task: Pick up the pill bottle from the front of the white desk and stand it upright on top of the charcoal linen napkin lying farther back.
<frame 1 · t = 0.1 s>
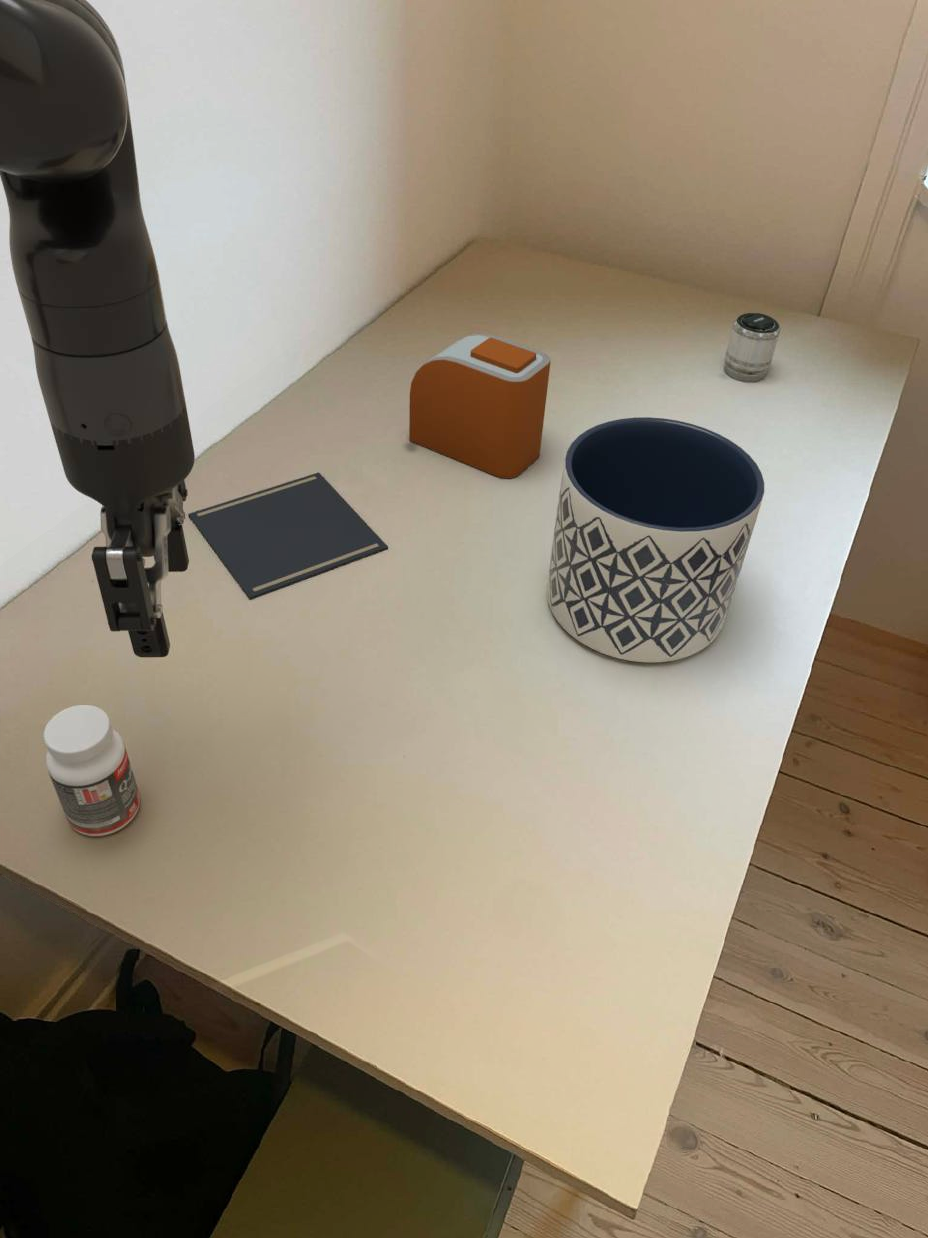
hand: (163, 609, 66), 20 cm above the table, tool pointing down, fingers open, 8 cm apart
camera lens: (744, 373, 136), on the table
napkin: (287, 532, 105), on the table
planter: (633, 605, 99), on the table
alarm clock: (477, 447, 119), on the table
pill bottle: (105, 810, 78), on the table
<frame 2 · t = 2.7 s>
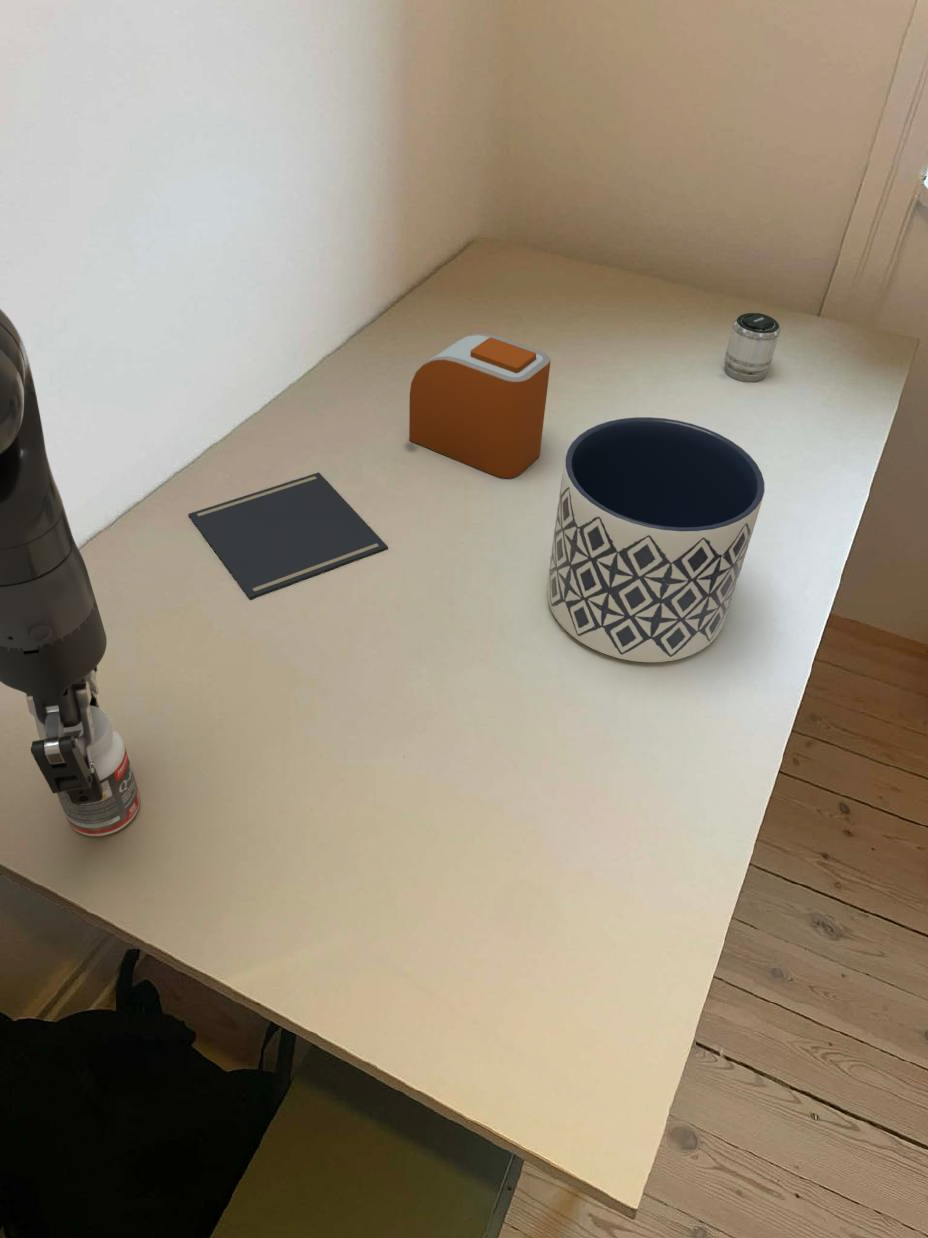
hand: (89, 765, 74), 6 cm above the table, tool pointing down, fingers closed on pill bottle, 5 cm apart
pill bottle: (105, 810, 78), on the table, touching gripper
everything else where it was.
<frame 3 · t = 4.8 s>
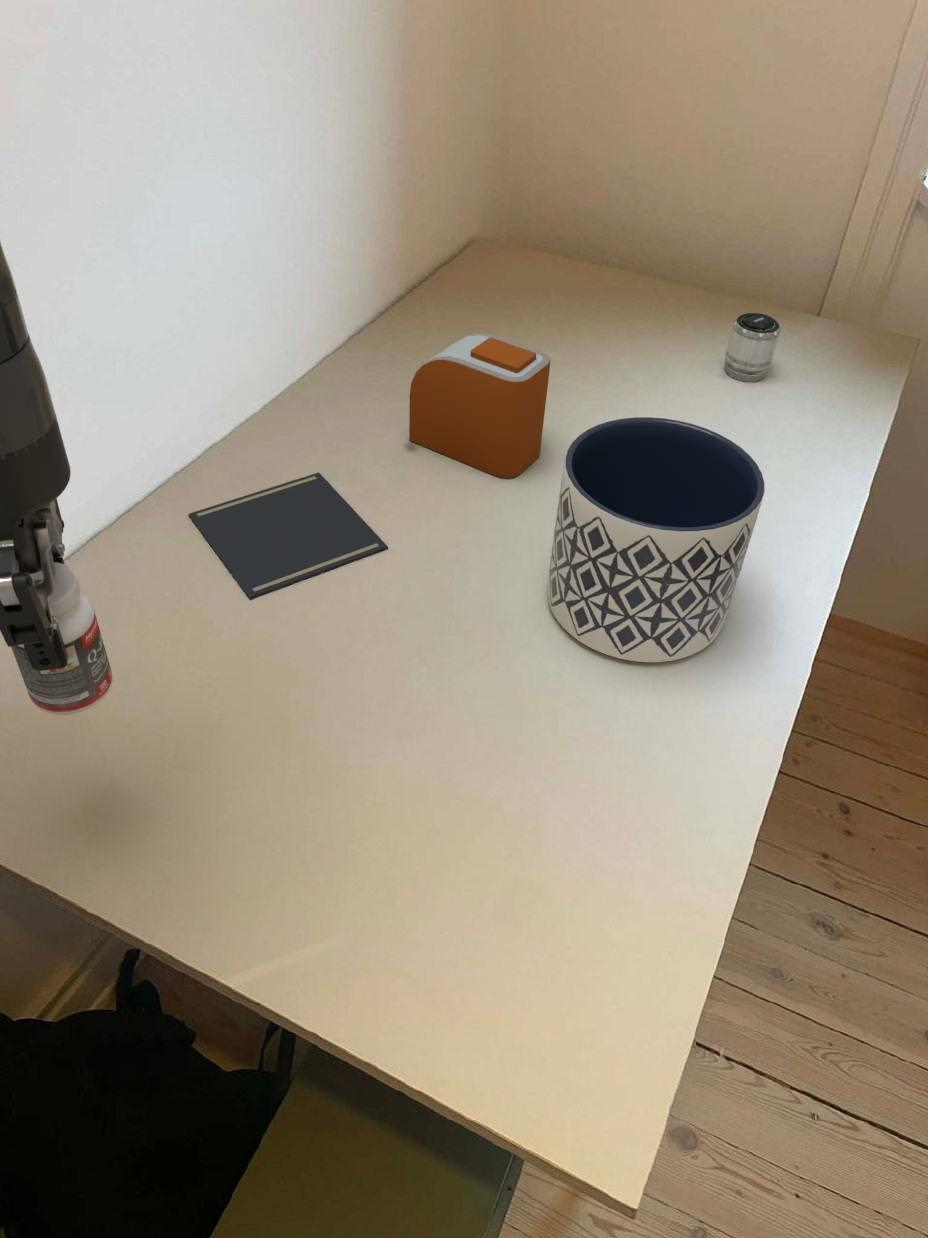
hand: (54, 632, 66), 19 cm above the table, tool pointing down, fingers closed on pill bottle, 5 cm apart
pill bottle: (73, 690, 70), point 13 cm above the table, touching gripper
everything else where it was.
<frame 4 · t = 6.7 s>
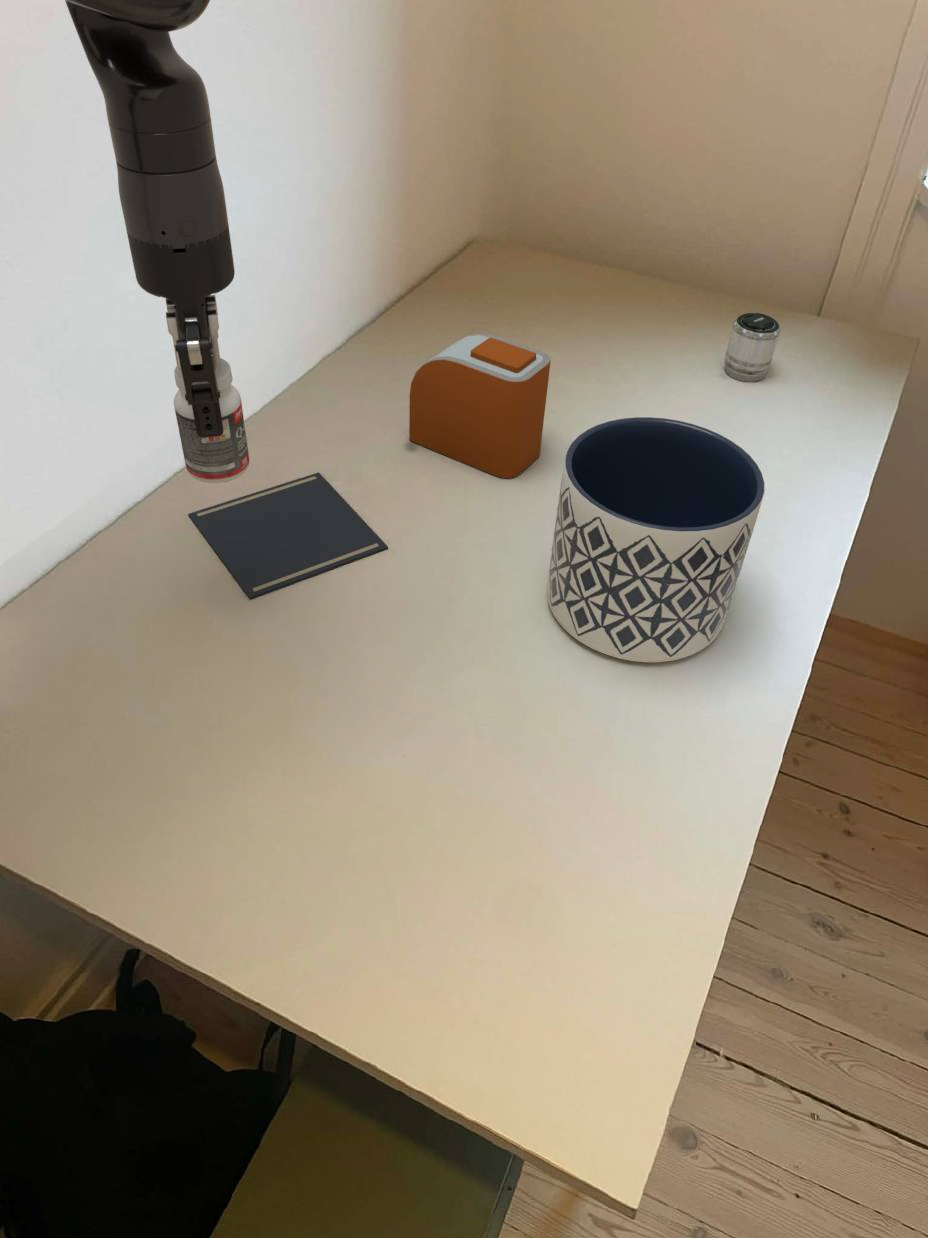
hand: (209, 414, 84), 20 cm above the table, tool pointing down, fingers closed on pill bottle, 5 cm apart
pill bottle: (218, 469, 88), point 14 cm above the table, touching gripper
everything else where it was.
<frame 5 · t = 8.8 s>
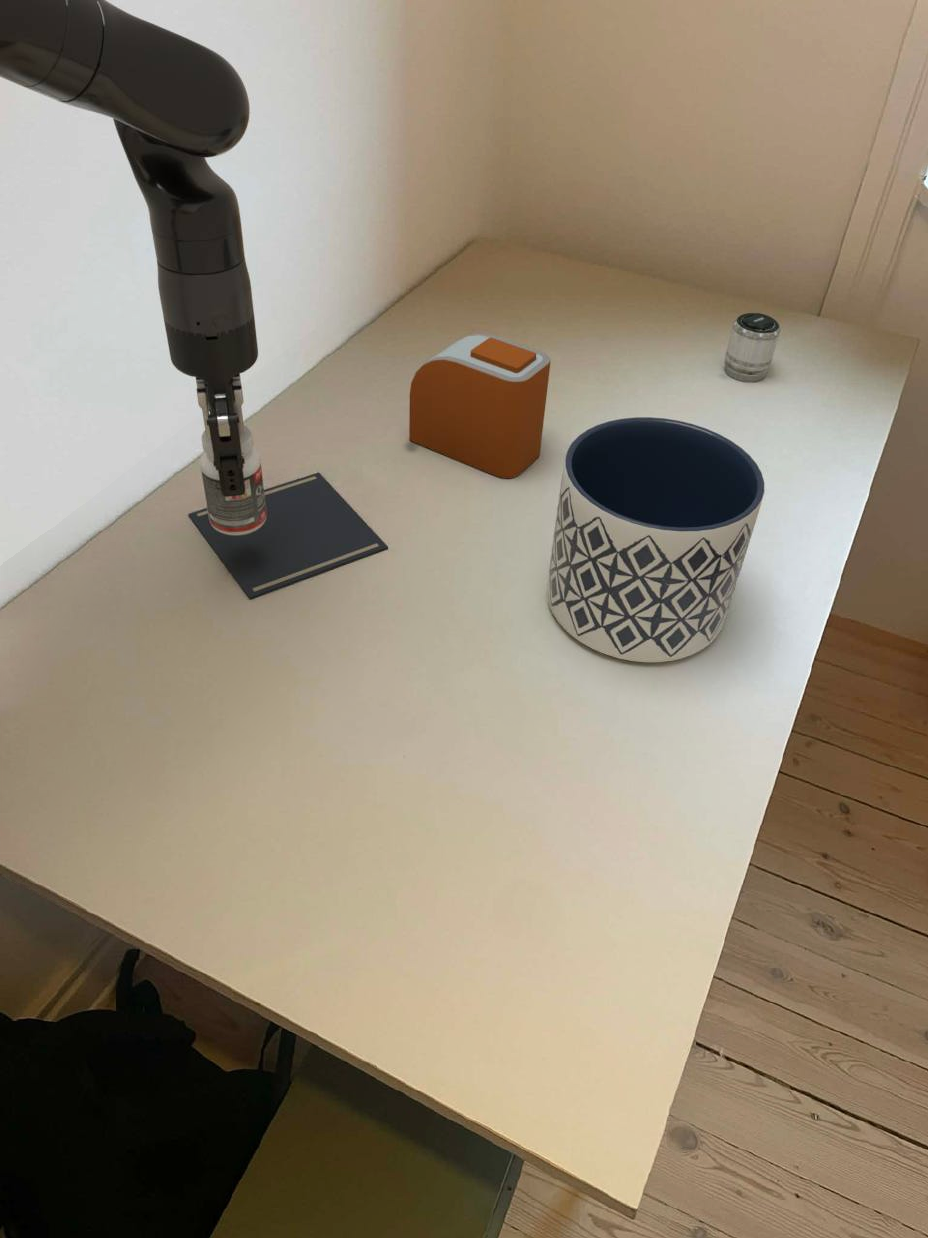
hand: (231, 474, 93), 11 cm above the table, tool pointing down, fingers closed on pill bottle, 5 cm apart
pill bottle: (238, 521, 97), point 5 cm above the table, touching gripper
everything else where it was.
when the fingers open (6 cm above the table, at t = 10.6 s): pill bottle stays where it is, resting on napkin.
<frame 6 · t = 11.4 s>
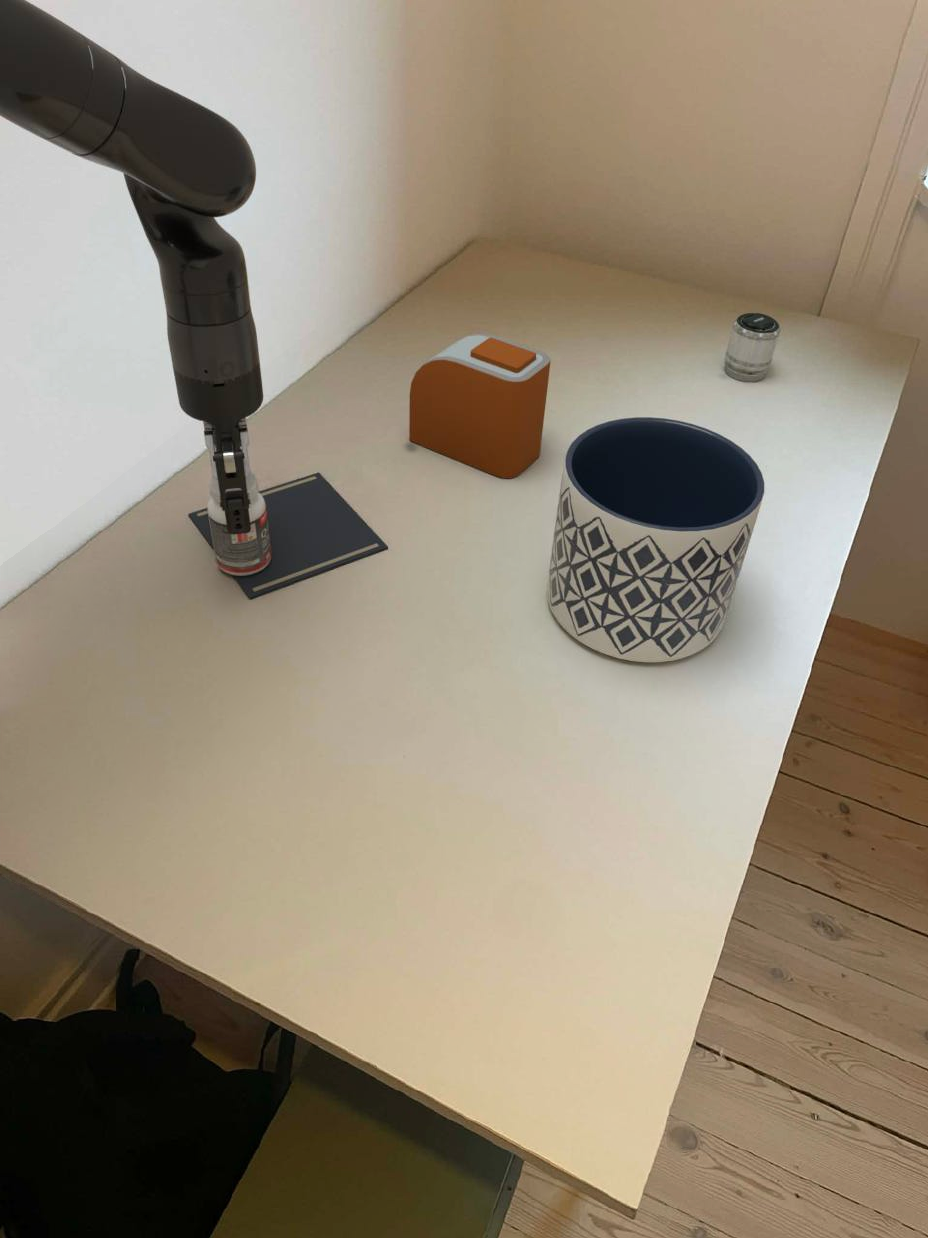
hand: (236, 505, 96), 7 cm above the table, tool pointing down, fingers open, 8 cm apart
pill bottle: (244, 561, 101), resting on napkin
everything else where it was.
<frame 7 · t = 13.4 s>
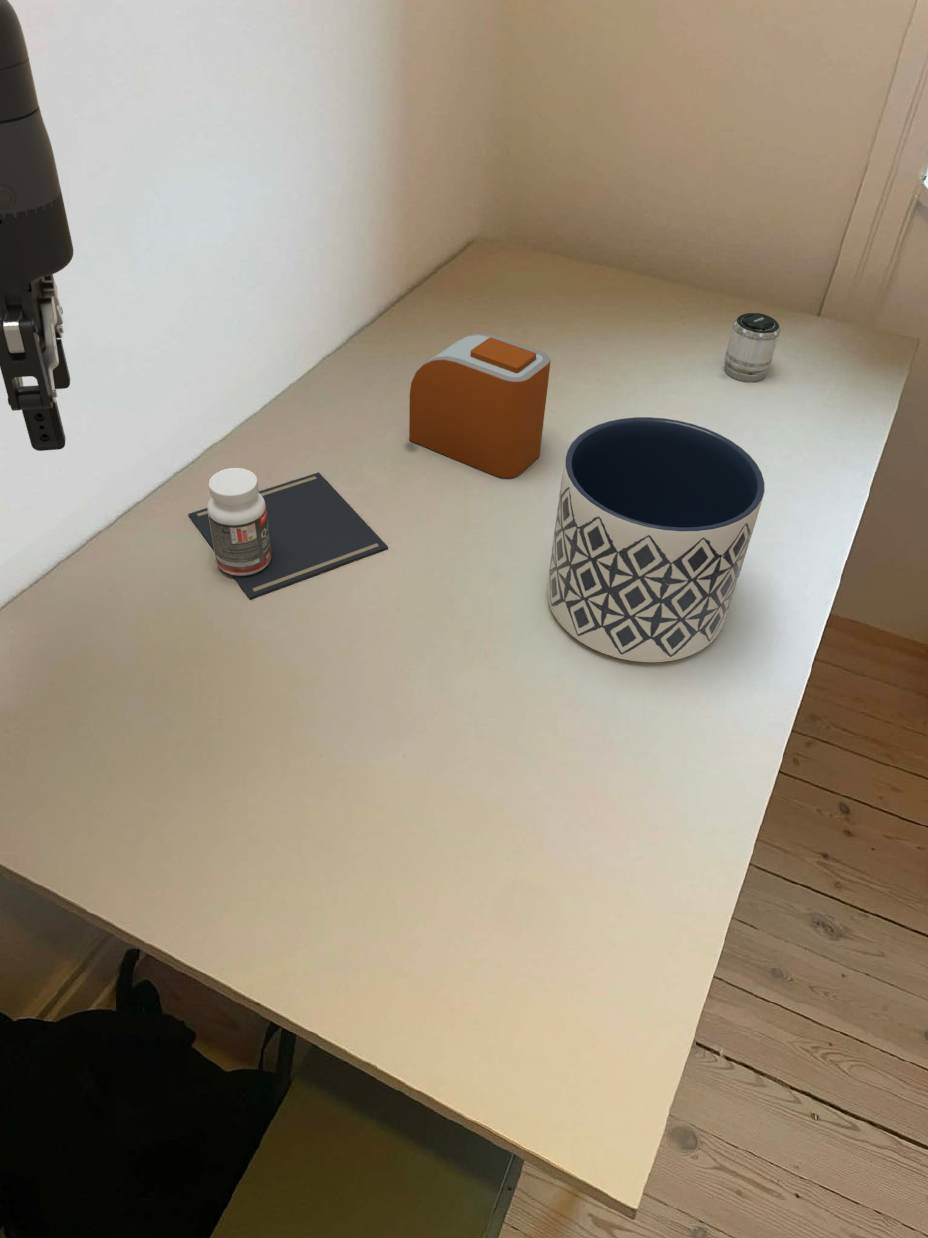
hand: (53, 416, 71), 27 cm above the table, tool pointing down, fingers open, 8 cm apart
nothing on the table moved.
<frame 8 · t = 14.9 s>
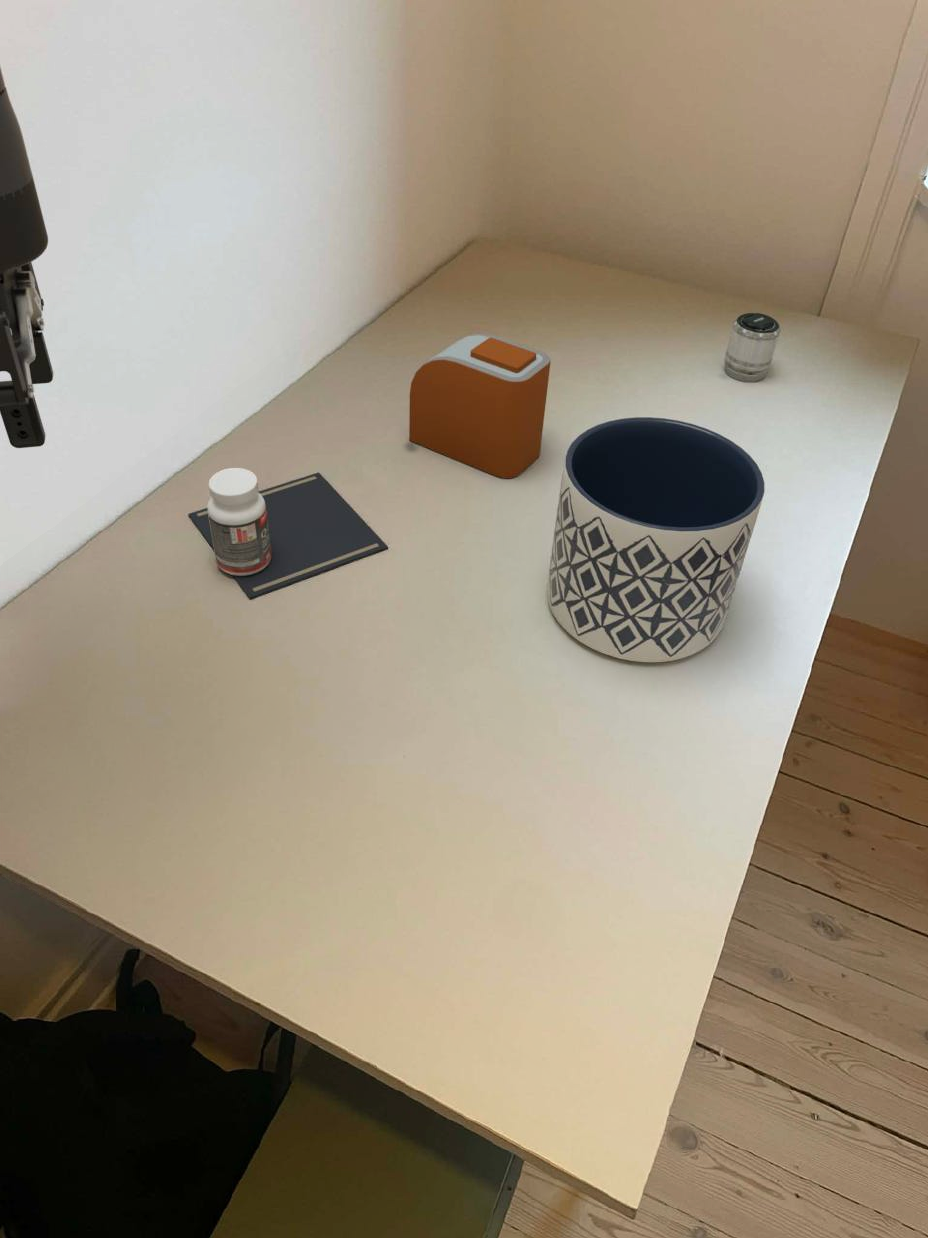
hand: (34, 411, 69), 28 cm above the table, tool pointing down, fingers open, 8 cm apart
nothing on the table moved.
at the end: pill bottle inside the target area on the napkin (6.5 cm from its centre), point 0.1 cm above the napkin's base; pill bottle tilted 0°; the gripper is holding nothing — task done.
